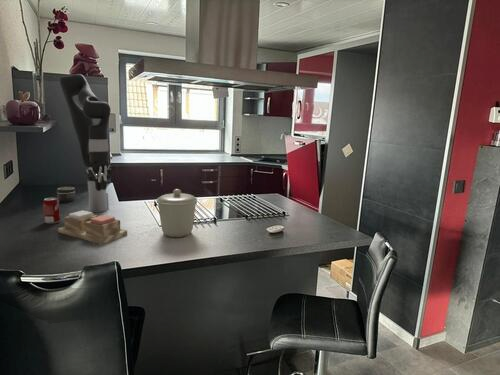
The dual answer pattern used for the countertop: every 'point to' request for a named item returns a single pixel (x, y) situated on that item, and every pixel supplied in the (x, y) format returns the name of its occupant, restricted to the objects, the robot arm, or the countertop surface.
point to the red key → (102, 219)
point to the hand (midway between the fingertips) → (101, 189)
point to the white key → (81, 215)
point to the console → (92, 230)
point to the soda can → (51, 210)
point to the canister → (177, 213)
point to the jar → (66, 194)
